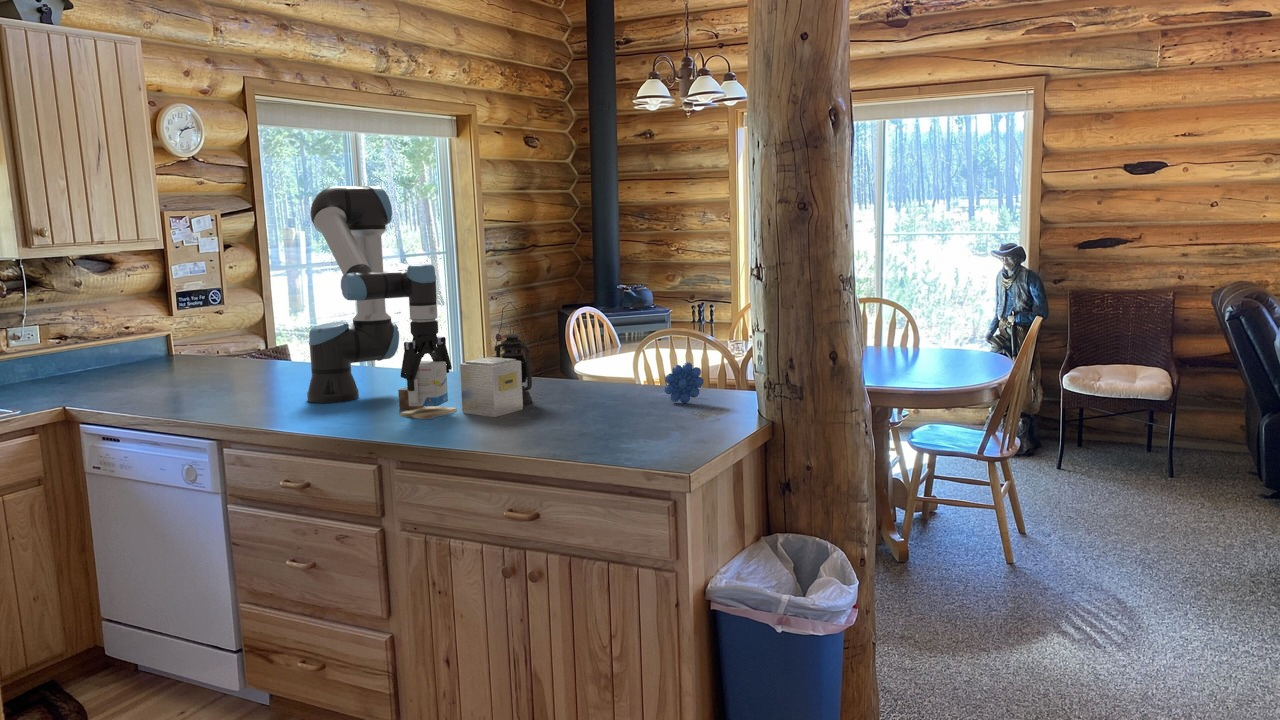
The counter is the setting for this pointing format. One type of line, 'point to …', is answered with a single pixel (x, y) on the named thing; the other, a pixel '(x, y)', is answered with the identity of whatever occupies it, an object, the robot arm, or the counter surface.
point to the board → (428, 412)
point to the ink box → (431, 384)
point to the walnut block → (405, 400)
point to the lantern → (517, 357)
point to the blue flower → (683, 383)
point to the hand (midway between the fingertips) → (428, 399)
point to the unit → (491, 386)
